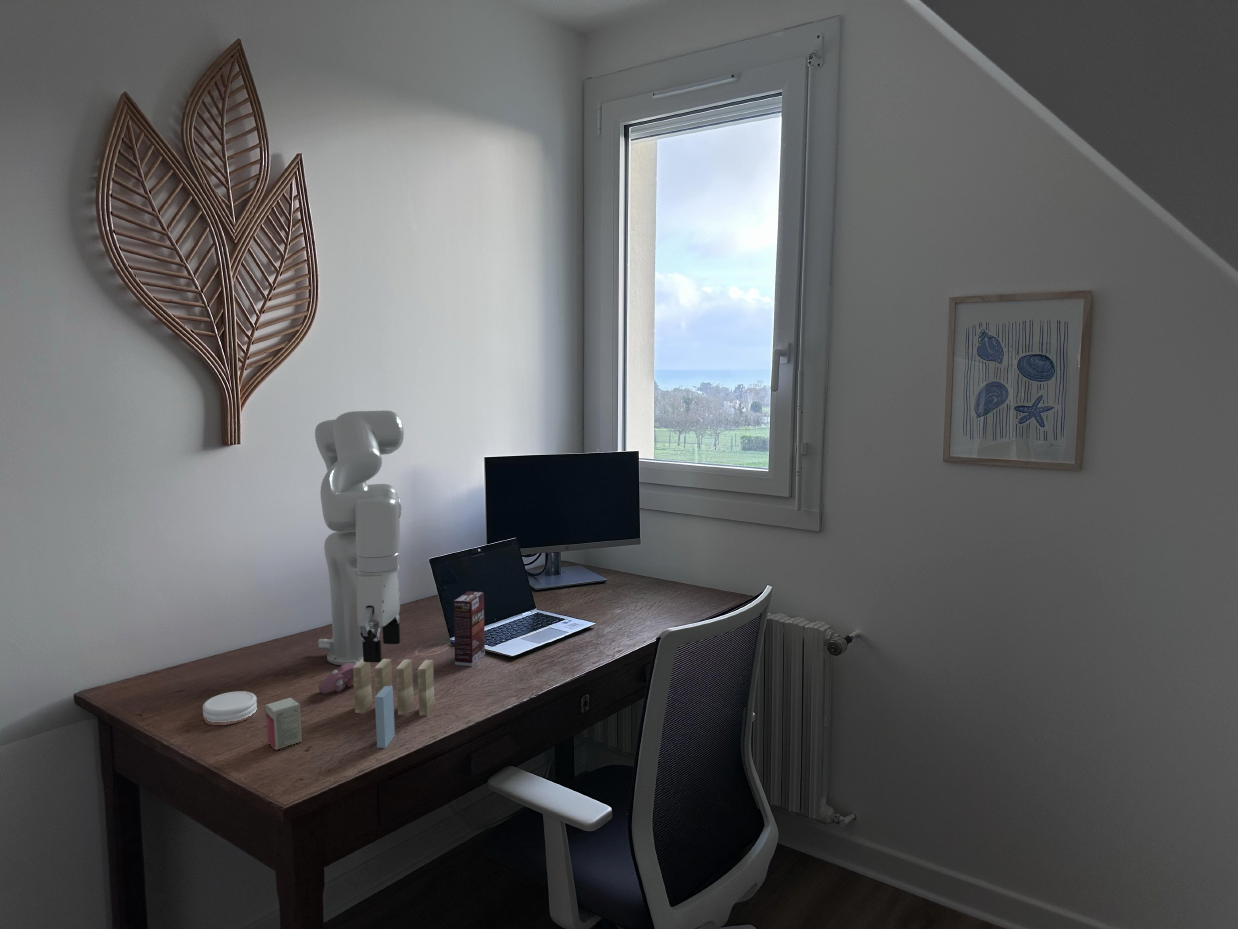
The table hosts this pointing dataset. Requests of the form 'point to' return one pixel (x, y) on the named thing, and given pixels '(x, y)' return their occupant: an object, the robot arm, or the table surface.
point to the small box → (283, 723)
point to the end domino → (384, 716)
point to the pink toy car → (338, 678)
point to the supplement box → (469, 628)
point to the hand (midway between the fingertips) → (382, 652)
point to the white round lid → (230, 706)
